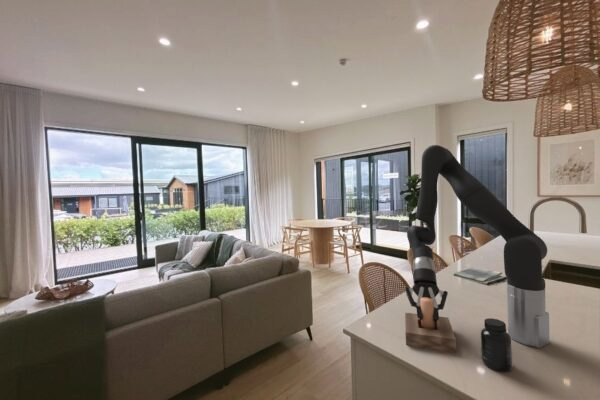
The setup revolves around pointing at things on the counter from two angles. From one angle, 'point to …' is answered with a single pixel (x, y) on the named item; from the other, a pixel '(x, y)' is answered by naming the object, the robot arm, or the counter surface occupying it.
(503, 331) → the supplement bottle
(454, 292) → the counter surface
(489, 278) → the dish towel
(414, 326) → the socket block
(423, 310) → the pin
